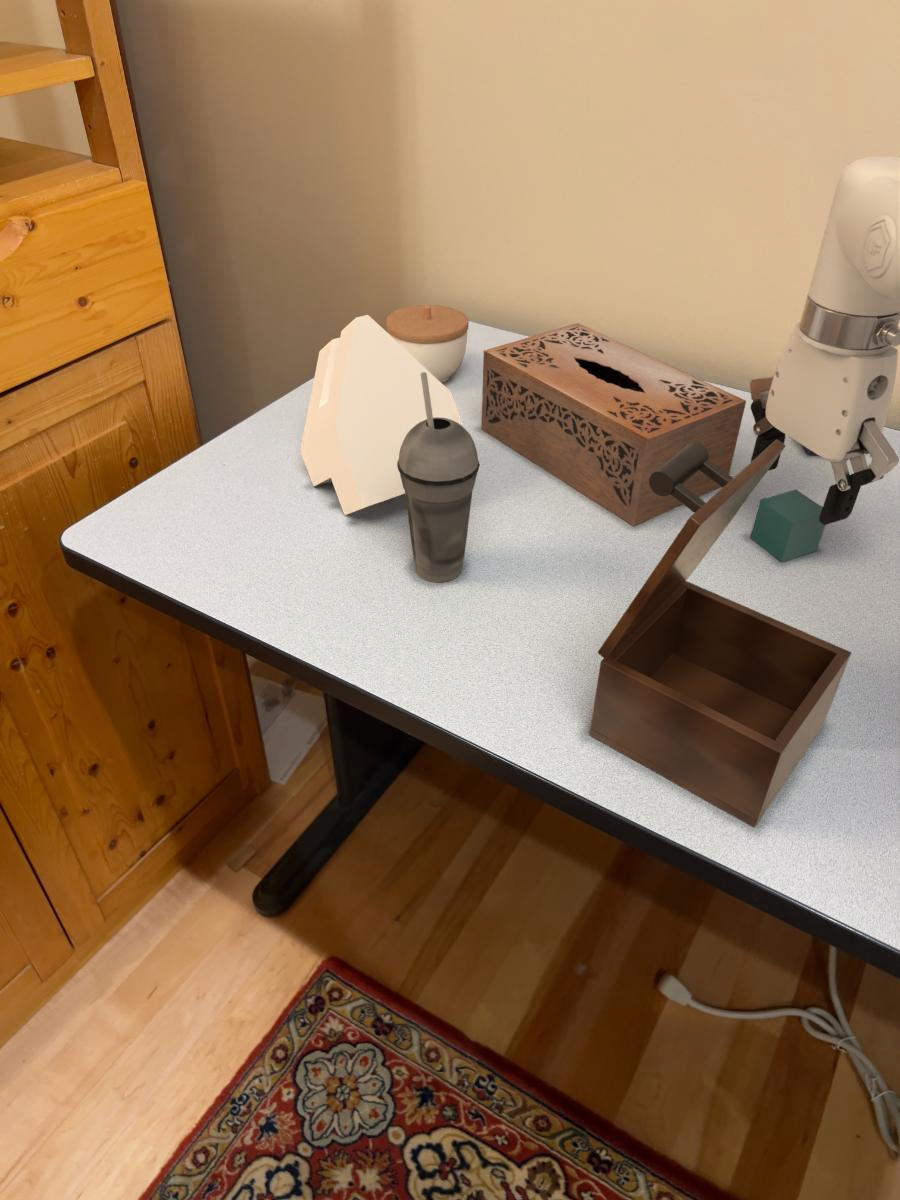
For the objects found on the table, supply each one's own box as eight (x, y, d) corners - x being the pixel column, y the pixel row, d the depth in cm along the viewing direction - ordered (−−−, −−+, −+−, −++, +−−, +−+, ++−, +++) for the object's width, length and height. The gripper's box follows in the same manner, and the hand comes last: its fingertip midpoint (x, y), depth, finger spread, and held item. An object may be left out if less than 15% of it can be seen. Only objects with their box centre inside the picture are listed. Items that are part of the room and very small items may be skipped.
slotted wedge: (431, 485, 103) (378, 336, 101) (477, 467, 93) (419, 302, 91) (326, 522, 97) (268, 364, 95) (364, 507, 87) (299, 331, 85)
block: (817, 550, 88) (830, 511, 85) (781, 562, 86) (793, 523, 83) (784, 527, 91) (796, 488, 88) (749, 538, 89) (760, 499, 86)
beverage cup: (476, 592, 82) (482, 393, 69) (398, 591, 82) (390, 392, 70) (476, 547, 88) (482, 355, 75) (403, 545, 88) (396, 354, 75)
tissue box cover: (726, 484, 97) (746, 400, 91) (633, 526, 91) (647, 439, 84) (570, 398, 114) (577, 322, 107) (481, 429, 107) (483, 350, 101)
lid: (786, 445, 60) (726, 402, 61) (700, 525, 52) (634, 474, 53) (688, 578, 71) (639, 539, 72) (605, 660, 63) (552, 615, 64)
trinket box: (371, 377, 118) (367, 308, 112) (424, 352, 125) (423, 286, 119) (431, 400, 113) (431, 329, 107) (483, 373, 119) (485, 305, 113)
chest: (823, 725, 69) (852, 652, 64) (754, 828, 62) (781, 753, 57) (668, 651, 76) (683, 579, 71) (588, 735, 68) (600, 661, 63)
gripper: (966, 352, 69) (894, 531, 80) (809, 282, 81) (765, 445, 92) (896, 370, 67) (832, 552, 78) (745, 294, 79) (708, 461, 90)
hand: (796, 494), depth 85 cm, fingers open, 9 cm apart
